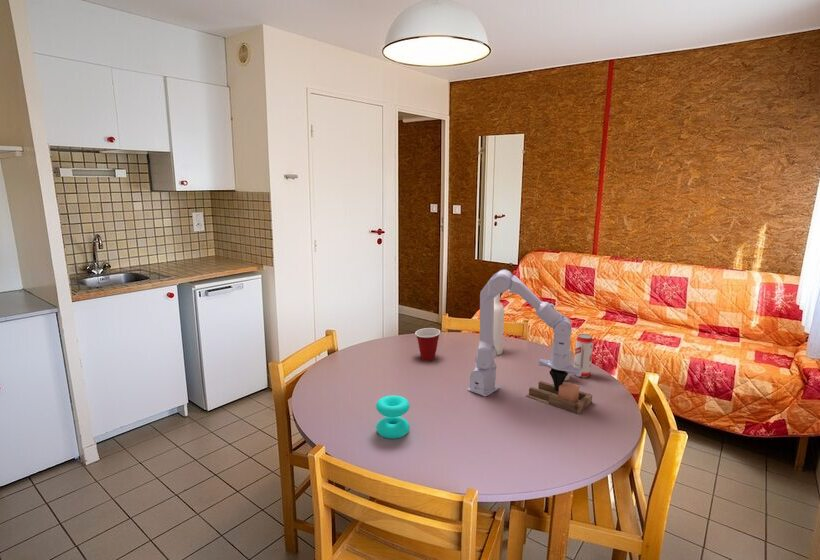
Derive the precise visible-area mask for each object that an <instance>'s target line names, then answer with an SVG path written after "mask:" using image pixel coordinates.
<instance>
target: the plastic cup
mask: <svg viewBox="0 0 820 560" xmlns="http://www.w3.org/2000/svg"><path fill="white" fill-rule="evenodd" d="M440 334H441V330H440V329H438V328H434V327H424V328H420V329H417V330H416V331H415V333H414V335H415V337H416V339H417V343H418V349H419V353H420V358H421V360H423V361H428V360H429V361H433V360H435V358H436V352H437V348H438V343H439V337H440Z"/></svg>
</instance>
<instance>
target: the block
mask: <svg viewBox="0 0 820 560" xmlns="http://www.w3.org/2000/svg"><path fill="white" fill-rule="evenodd" d="M579 391H580V385H577V384H575V383H571V382H567V381H564V382H563V384H562V385H560V386H559V394H558V397H559V398H562V399H565V400H568V401H571V402H574V403H576V402H577V401H578V398H579Z"/></svg>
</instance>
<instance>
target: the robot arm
mask: <svg viewBox="0 0 820 560" xmlns="http://www.w3.org/2000/svg"><path fill="white" fill-rule="evenodd" d="M508 290H509V291H508ZM507 291H508V294H517V295H518V296H519V297H520V298H522V299H523V300H524V301H526V303H528V304H529V305H530V306H532V308H534V309H535V315H536V316H537V317H539V319H541V320H542V321H543V322H544V323H545V324H546V325H547V326H548V327H550V328H551V329H552V332H553V338H552V347H551V357H550V358H551V360H550V359H549V360H548V359H544V358H540V359H539V360H538V366H539V367H545V368H546V367H547V368H550V370H549V375H550V376H551V379H552V382H553V385H554V386H555V390H556V391H559V386H560V385H562V384H563V383H564V382H565V381H566V380H565V378H566V376H567V375H568V373H570V374H569V375H575V376H576V377H578V378H580V377H579V376H581V372H582V370H581V369H578V368H575V367H574V365H569V354H570V350H571V334H572V332H573V330H572V322H571V320H570V319H569V317H568V316H566V315H565V314H563V313H562V314H561V313H560V312H559V311H558V310H557V309H556V308H555V304H554V303H550V302H548V301H542V300H541V299H540V298H539V297H538V296H537V295H536V294H535V293H534V292H533V291H532V290H531V289H530V288H529V287H528V286H527V285H526V284H525V283H524V282H523V281H522V280H521V279H520V278H518V276H517V275H514V274H513V273H512V272H511V271H510V270H508V269H500V270H499V271H497V272H496V273H494V274H493V275H492V276H491V277H490V279H489V280H488V281H487V283H485V285H484V287H482V289H481V290H480V294H479V343H478V349H477V354H476V356H475V359H474V360H475V368H474V370H472V371H471V372H470V374H469V387H468V388H467V391H469V392H472V393H474V394H478V395H480V396H483V397H488V396H489V395H492V394H493V393H494V392H497V391H498V390H499V389H501V387H500V386H498V385H496V376H497V372H496V371H497V364H496V362H495V359H496V357H497V356H498V355H497V351H496V349H495V346H494V339H493V335H494V297H496V296H497V295H498V294H500V295H501V294H503V293H504V292H507ZM564 380H565V381H564Z"/></svg>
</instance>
